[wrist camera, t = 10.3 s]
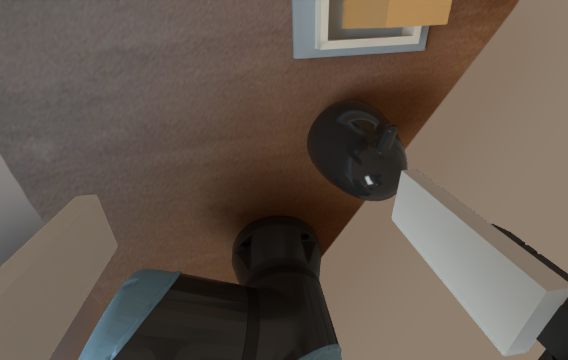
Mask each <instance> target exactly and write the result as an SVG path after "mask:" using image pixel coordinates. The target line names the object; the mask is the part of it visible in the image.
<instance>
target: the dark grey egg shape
mask: <svg viewBox="0 0 568 360" xmlns="http://www.w3.org/2000/svg"><path fill="white" fill-rule="evenodd" d="M397 131H398V128H397V126H395V125H393V124H391V123H390V122H389V121H388V119H387V118H386V117H385V116H384V115H383V114H382V113H381V112H380V111H379V110H378V109H377V108H375V107H374V106H372V105H370V104H369V103H366V102H363V101H359V100H346V101H341V102H338V103H336V104H334V105H332V106H330V107H328V108H327V109H325V110H324V111H323V112H322V113H321V114H320V115H319V116H318V117H317V118H316V120H315V121H314V123H313V124H312V126H311V128H310V131H309V134H308V139H307V149H308V153H309V156H310V159H311V161H312V163H313V164H314V166H315V167H316V168H317V170H318V171H319V172H320V173H321V174H322V175H323V176H324V177H325V178H326V179H327V180H328V181H329V182H330V183H332V184H333V185H334V186H336V187H337V188H339V189H340V190H342V191H343V192H345V193H347V194H349V195H351V196H354V197H356V198H359V199H363V200H368V201H382V200H385V199H389V198H391V197H392V196H394V195H396V194H397V190H398V185H399V180H400V176H401V171H402V170H408V167H407V166H408V165H407V158H406V154H405V150H404V147H403V145H402V142H401V140H400V138H399V136H398V134H397Z"/></svg>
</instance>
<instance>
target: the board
mask: <svg viewBox="0 0 568 360" xmlns="http://www.w3.org/2000/svg"><path fill="white" fill-rule="evenodd" d="M342 9H343V0H292V30H293V58H294V59H301V58H316V57H331V56H346V55H362V54H377V53H392V52H407V51H423V50H425V45H426V40H427V35H428V30H429V25H427V26H410V27H393V28H355V29H341V28H342Z"/></svg>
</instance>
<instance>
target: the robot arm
mask: <svg viewBox="0 0 568 360" xmlns="http://www.w3.org/2000/svg"><path fill="white" fill-rule="evenodd" d="M391 219H392V220H393V222H394V223H395V224H396V225H397V227H398V228H399V229H400V230H401V232H402V233H403V234H404V235H405V236H406V238H407V239H408V240H409V241H410V243H411V244H412V245H413V246H414V247H415V249H416V250H417V251H418V252H419V253H420V255H421V256H422V257H423V258H424V260H425V261H426V262H427V263H428V265H429V266H430V267H431V268H432V269H433V271H434V272H435V273H436V274H437V275H438V277H439V278H440V279H441V280H442V282H443V283H444V284H445V285H446V286H447V288H448V289H449V290H450V291H451V293H452V294H453V295H454V296H455V297H456V299H457V300H458V301H459V302H460V304H461V305H462V306H463V307H464V309H465V310H466V311H467V312H468V313H469V315H470V316H471V317H472V318H473V320H474V321H475V322H476V323H477V324H478V326H479V327H480V328H481V329H482V331H483V332H484V333H485V334H486V335H487V337H488V338H489V339H490V340H491V342H493V344H494V345H495V346H496V348H497V349H498V350H499V351H500V353H501V354H502V355H503V356H509V355H514V354H520V353H526V352H528V351H529V349H530V348H531V346H532V345H533V344H534V343H535V341H536V340H538V341H539V342H540V343H541V344H542V345H543V346H544V347H545V348H546V350H545V351H544V353H543V354H542V355H541V357H540V358H539V359H538V360H568V274H567V273H566V272H565V271H563V270H562V269H560V268H559V267H558V266H556V265H555V264H553V263H552V262H551V261H549V260H548V259H547V258H545V257H544V256H542V255H541V254H538V253H537V251H536V250H534V249H533V248H531V247H530V246H529V245H525V242H523V241H522V240H520V239H519V238H517V237H516V236H515V235H513V234H512V233H511V232H509V231H507V230H505V229H502V228H500V227H498V226H496V225H494V224H490V223H488V222H487V221H486V220H484V219H483V218H482V217H480V216H479V215H478V214H476V213H475V212H474V211H472V210H471V209H469V208H468V207H467V206H466V205H464V204H463V203H462V202H460V201H459V200H458V199H456V198H455V197H454V196H452V195H451V194H450V193H448V192H447V191H446V190H444V189H443V188H442V187H440V186H439V185H438V184H436V183H435V182H434V181H432V180H431V179H429V178H428V177H427V176H426V175H424V174H423V173H421V172H420V171H419V170H418V169H412V170H402V171H401V176H400V180H399V185H398V190H397V194H396V199H395V204H394V209H393V213H392V218H391ZM117 247H118V245H117V243H116V240H115V238H114V235H113V233H112V231H111V228H110V226H109V223H108V221H107V219H106V216H105V214H104V211H103V209H102V207H101V204H100V202H99V199H98V197H97V195H85V196H76V197H75V198H74V199H73V200H72V201H70V202H69V203H68V204H67V205H66V206H65V207H64V208H63V209H62V210H61V211H60V212H59V213H58V214H57V215H55V216H54V217H53V218H52V219H51V220H50V221H49V222H48V223H47V224H46V225H45V226H44V227H43V228H42V229H41V230H39V231H38V232H37V233H36V234H35V235H34V236H33V237H32V238H31V239H30V240H29V241H28V242H27V243H26V244H24V245H23V247H21V248H20V249H19V250H18V251H17V252H16V253H15V254H14V255H13V256H12V257H11V258H9V260H7V261H6V262H5V263H4V264H3V265H2V266H1V267H0V360H49V359H50V357H51V355H52V354H53V352H54V351H55V349H56V347H57V346H58V344H59V342H60V340H61V339H62V338H63V336H64V334H65V333H66V331H67V329H68V328H69V326H70V324H71V323H72V321H73V319H74V318H75V316H76V315H77V313H78V311H79V310H80V308H81V306H82V305H83V303H84V301H85V300H86V298H87V296H88V295H89V293H90V292H91V290H92V288H93V287H94V285H95V283H96V282H97V280H98V278H99V277H100V275H101V274H102V272H103V270H104V269H105V267H106V265H107V264H108V262H109V260H110V259H111V257H112V255H113V254H114V252H115V251H116V249H117ZM320 263H321V248H320V244H319V241H318V238H317V235H316V233H315V232H314V230H313V229H312V228H311V227H310V226H309V225H308V224H306V223H305V222H303V221H301V220H299V219H296V218H292V217H287V216H273V217H267V218H263V219H260V220H258V221H255V222H253V223H251V224H250V225H248V226H247V227H246V228H244V229H243V230H242V231H241V232H240V233H239V235H238V236H237V238H236V239H235V241H234V244H233V249H232V265H233V269H234V272H235V274H236V277H237V280H238V282H239V285H238V284H233V283H228V282H223V281H218V280H213V279H208V278H203V277H197V276H192V275H187V274H182V272H181V271H177V272H170V271H163V270H156V269H142V270H139V271H137V272H135V273H134V274H132V275H131V276H130V277H129V278H128V279H127V280H126V281H125V282H124V284H123V285H122V286H121V288H120V289H119V290H118V292H117V293H116V295H115V296H114V298H113V300H112V301H111V303H110V304H109V306H108V307H107V309H106V311H105V312H104V314H103V316H102V317H101V319H100V321H99V322H98V324H97V326H96V328H95V329H94V331H93V333H92V335H91V337H90V338H89V340H88V342H87V344H86V346H85V348H84V350H83V351H82V353H81V355H80V357H79V359H78V360H342V358H341V348H340V346H339V344H338V341H337V338H336V334H335V331H334V327H333V324H332V321H331V318H330V314H329V311H328V308H327V305H326V301H325V298H324V295H323V291H322V288H321V285H320V281H319V274H320Z"/></svg>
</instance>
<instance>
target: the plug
mask: <svg viewBox="0 0 568 360" xmlns="http://www.w3.org/2000/svg"><path fill="white" fill-rule="evenodd" d="M451 4H452V0H343V9H342V28H341V29H355V28H393V27H410V26H427V25H444V24H447V22H448V17H449V13H450V8H451Z"/></svg>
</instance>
